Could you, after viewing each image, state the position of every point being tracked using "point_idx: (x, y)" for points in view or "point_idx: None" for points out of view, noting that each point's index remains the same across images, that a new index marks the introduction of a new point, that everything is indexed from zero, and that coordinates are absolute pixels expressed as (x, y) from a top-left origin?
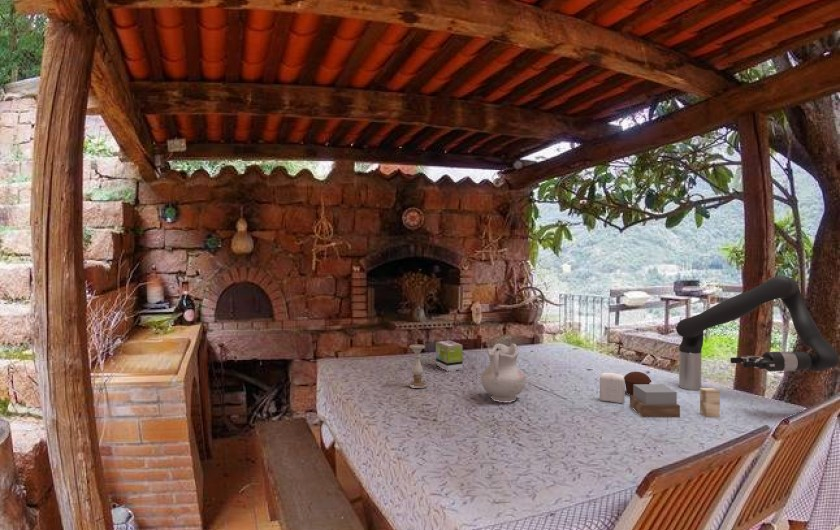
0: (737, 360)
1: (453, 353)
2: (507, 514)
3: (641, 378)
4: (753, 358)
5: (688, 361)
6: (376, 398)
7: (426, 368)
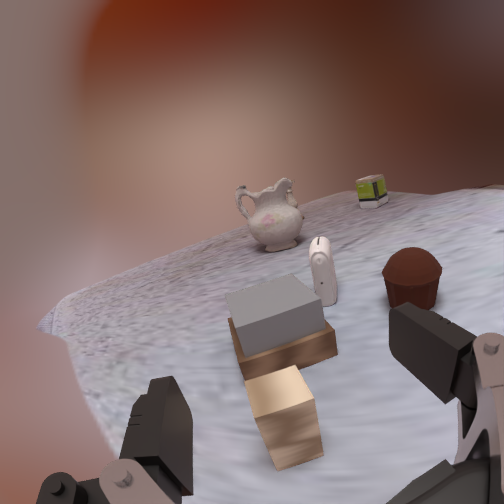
0: (427, 359)
1: (362, 188)
2: (61, 303)
3: (393, 268)
4: (472, 492)
5: None
6: None
7: None
